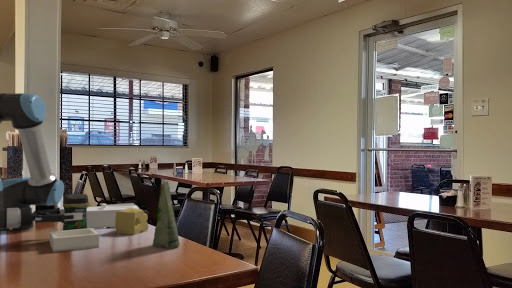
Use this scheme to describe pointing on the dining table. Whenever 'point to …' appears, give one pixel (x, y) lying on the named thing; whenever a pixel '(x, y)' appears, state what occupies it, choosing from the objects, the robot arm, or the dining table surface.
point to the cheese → (131, 221)
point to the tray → (74, 239)
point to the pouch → (165, 221)
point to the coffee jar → (75, 210)
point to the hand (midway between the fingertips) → (79, 213)
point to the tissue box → (105, 214)
